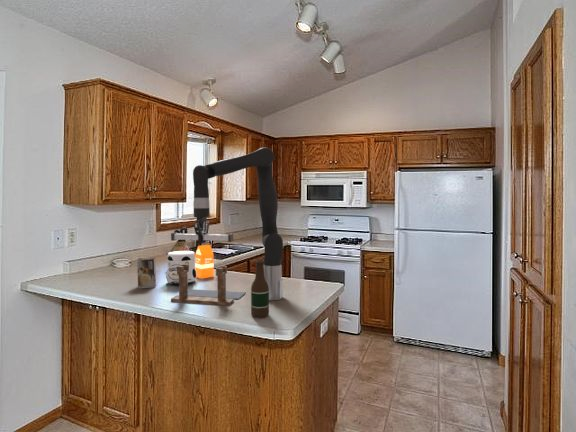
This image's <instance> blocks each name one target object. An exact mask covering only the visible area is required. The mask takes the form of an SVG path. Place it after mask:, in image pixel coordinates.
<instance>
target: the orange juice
mask: <svg viewBox="0 0 576 432" xmlns="http://www.w3.org/2000/svg"><path fill="white" fill-rule="evenodd" d="M214 263H215V261H214V252H213V249H212V246H211V244H203V245H198V246H197V249H196V251H195V268H196V272H197V277H196V278H198V279H207V278H210V277H211V278H212V277H214V274H215V273H214V272H215V271H214V268H215V267H214Z"/></svg>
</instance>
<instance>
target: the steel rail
mask: <svg viewBox="0 0 576 432" xmlns="http://www.w3.org/2000/svg"><path fill="white" fill-rule="evenodd" d="M170 239H171V241H178V240H185V241H198V235H196V233H187V234H184V233H183V234H177V232H174V231H173V232H171V234H170ZM203 240H206V241H221V242H222V241H223V242H224V241H226V242H228V243H233V242H234V233H228V234H215V233H212V234H211V233H207V234H203Z"/></svg>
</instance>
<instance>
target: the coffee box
mask: <svg viewBox="0 0 576 432" xmlns="http://www.w3.org/2000/svg"><path fill="white" fill-rule="evenodd" d="M136 263H137V265H136V266H137V289H147V288H149V289H150V288H156V286H157V279H156V277H157V275H156V273H157V271H156V257H139V258H137V260H136Z"/></svg>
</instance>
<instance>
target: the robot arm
mask: <svg viewBox="0 0 576 432" xmlns="http://www.w3.org/2000/svg"><path fill="white" fill-rule="evenodd" d="M274 161H275V153H274V151H273V150H272V149H271V148H269V147H264V146H263V147H261V148H258V149H257V150H254V151H252V152H250V153H248V154H247V153H246V154H243V155H240V156H236V157H230V158H226V159H221V160H218V161H214V162H212V163H209V164H203V165H202V164H198V165H196V166H195V167H193V170H192V181H193V203H192V205H193V218H196V219H195V223H193V229H194V232H195V233H194V234H196V235H198V240H197V242H198V244H199V245H200V244H205V243H207V240H203V234H209V228H210V221H208V218H209V217H210V216H211V212H210V210H211V209H210V207H211V206H210V192H209V191H210V190H209V179H213V178H215V177H220V176H226V175H228V174H232V173H235V172H238V171H242V170H244V169H249V168H254V167H256V171H257V180H258V181H257V189H258V190H257V192H258V194H257V195H258V196H257V197H258V205H259V213H260V219H261V225H262V227H261V231H262V234H261V235H262V236H261V237H262V239H261V240H262V241H261V242H262V245H263V247H264V257H263V261H264V277H265V280H266V282H267V284H268V286H269V301H281V299H282V298H283V291H284V290H283V288H284V287H283V286H284V285H283V284H284V283H283V277H282V271H283V270H282V262H283V258H284V256H283V254H284V240H283V238H282V236H281V235H280V234H279V232H278V228H277V227H278V225H277V216H278V210H279V209H278V207H279V206H278V205H279V203H278V194H277V189H276V185H275V182H274V177H273V162H274Z"/></svg>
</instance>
